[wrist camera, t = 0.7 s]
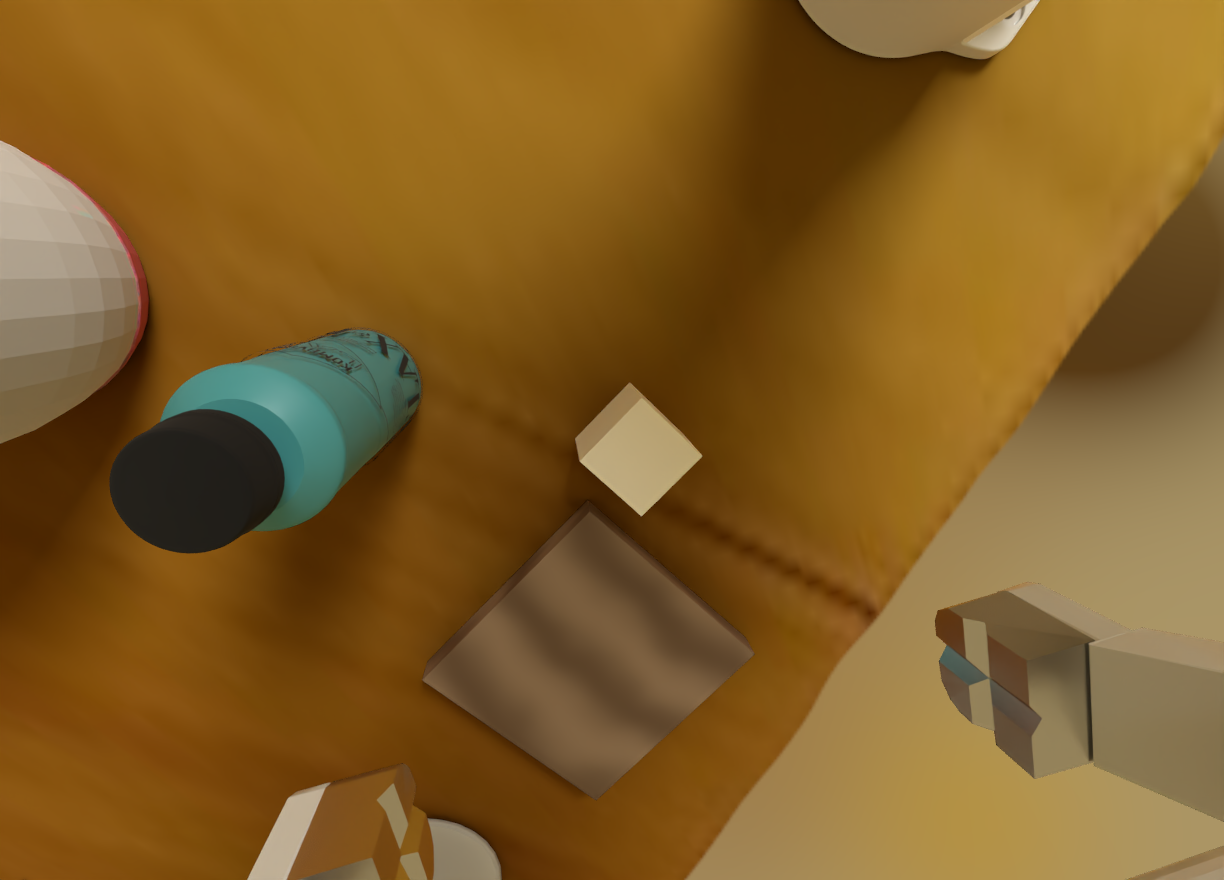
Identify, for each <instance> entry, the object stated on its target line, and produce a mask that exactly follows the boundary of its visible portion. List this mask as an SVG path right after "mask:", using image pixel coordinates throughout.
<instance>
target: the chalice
mask: <svg viewBox="0 0 1224 880" xmlns="http://www.w3.org/2000/svg"><path fill="white" fill-rule="evenodd" d="M428 822H429V825H430V829H431V834H432V840H433V845H434V875H433V880H502V875H501V865H500V863H499V860H498V858H497V855H496V853H495V851H494V850H493V849H492V848H491V846H490V845H489V844H488V842H487V841H486V840H485V839H483V838H482V837H481V836H479V835H478V834H477V833H476V832H474V831H472V830H470V829H468V828H466V827H464V826H462V825H460V824H457V823H453V822H449V821H445V820H441V819H428Z"/></svg>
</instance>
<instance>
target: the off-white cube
mask: <svg viewBox="0 0 1224 880" xmlns="http://www.w3.org/2000/svg"><path fill="white" fill-rule="evenodd" d="M575 440H576V445H577V451H578V456H579V461H580V462H581V463H582V464H583V465H584V466H585V467H586V468H588V469H589V470H590V471H591V472H592V473H593V474H594V475H595V476H597V477H598V478H599V479H600V480H601V481H602V482H603V483H604V484H606V485H607V486H608V487H609V488H610V489H611V490H612V491H613V492H615V493H616V494H617V495H618V496H619V497H620V498H621V499H622V500H624V501H625V502H626V503H627V504H628V505H629V506H630V507H631V508H633V509H634V510H635V511H636V512H637V513H638V514H639V515H640V516H643V515H644V514H645V513H646V512H647V511H648V510H649V509H650V508H651V507H652V506H653V505H654V504H655V503H656V502H657V501H658V500H659V499H660V498H661V497H662V496H663V495H664V494H665V493H666V492H667V491H668V490H669V489H670V488H671V487H672V486H673V485H674V484H675V483H676V482H677V481H678V480H679V479H680V478H681V477H682V476H683V475H684V474H685V473H686V472H687V471H688V470H689V469H690V468H691V467H692V466H693V465H694V464H695V463H696V462H697V461H698V460H699V459H700V458H701V457H702V455H701V454H700V452H699V451H698V450H697V449H696V448H695V447H694V446H693V444H692V443H691V442H690V441H689V440H688V439H687V438H686V436H685V435H684V434H683V433H682V432H681V431H680V430H679V429H678V428H677V427H676V426H675V425H673V424H672V423H671V422H670V421H669V420H668V419H667V418H666V417H665V416H664V415H663V414H662V413H661V412H660V411H659V410H658V409H657V408H656V407H655V406H654V405H653V404H652V403H651V402H650V401H649V400H648V399H647V398H646V397H645V396H643V395H642V394H641V393H640V392H639V391H638V390H637V389H636V388H635V387H634V386H633V385H632V384H631V383H630V382H629V383H628V384H627V385H626V386H625V388H624V389H623V390H622V391H621V392H620V393H619V394H618V395H617V396H616V397H615V398H614V399H613V400H612V401H611V402H610V403H609V404H608V405H607V406H606V407H605V408H604V409H603V410H602V411H601V412H600V413H599V414H598V415H597V416H596V417H595V418H594V419H593V420H592V422H591V423H590V424H589V425H588V426H587V427H586V428H585V429H584V430H583V431H582V432H581V433H580V434H579V435H578V436H577V437H576V438H575Z"/></svg>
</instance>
